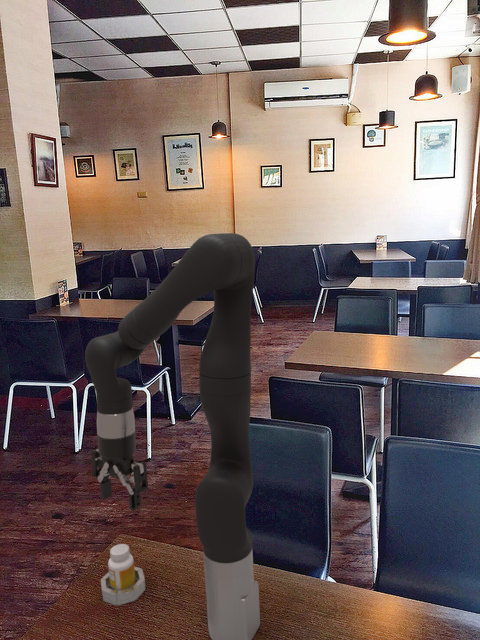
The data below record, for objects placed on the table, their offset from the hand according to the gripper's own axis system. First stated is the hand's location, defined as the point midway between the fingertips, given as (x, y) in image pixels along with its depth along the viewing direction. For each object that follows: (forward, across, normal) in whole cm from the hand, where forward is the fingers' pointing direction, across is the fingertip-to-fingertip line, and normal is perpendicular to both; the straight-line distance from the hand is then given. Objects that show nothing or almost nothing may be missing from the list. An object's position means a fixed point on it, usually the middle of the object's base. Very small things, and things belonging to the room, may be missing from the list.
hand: (120, 502), depth 107 cm
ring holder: (+21, 0, 0) cm, 21 cm away
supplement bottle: (+21, 0, 0) cm, 21 cm away
